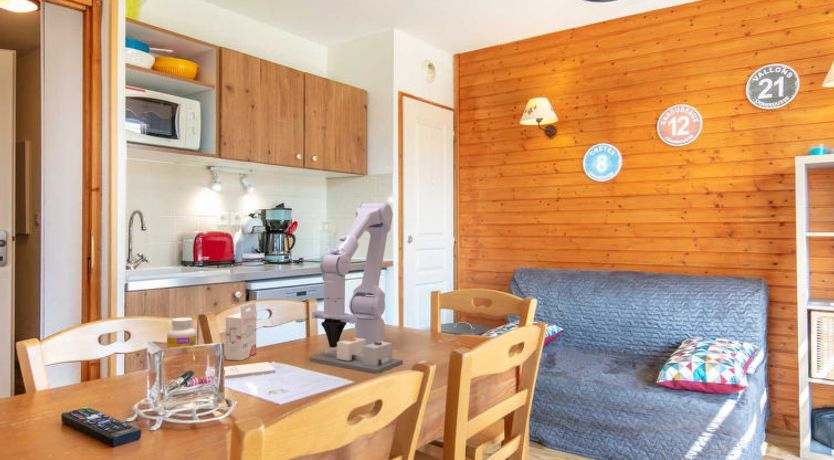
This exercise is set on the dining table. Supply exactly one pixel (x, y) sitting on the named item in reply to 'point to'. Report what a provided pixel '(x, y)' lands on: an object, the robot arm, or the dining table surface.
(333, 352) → the din rail
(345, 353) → the din module
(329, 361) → the mounting board
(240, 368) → the external hard drive
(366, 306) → the robot arm
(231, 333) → the ink cartridge box
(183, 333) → the supplement bottle
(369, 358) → the module
